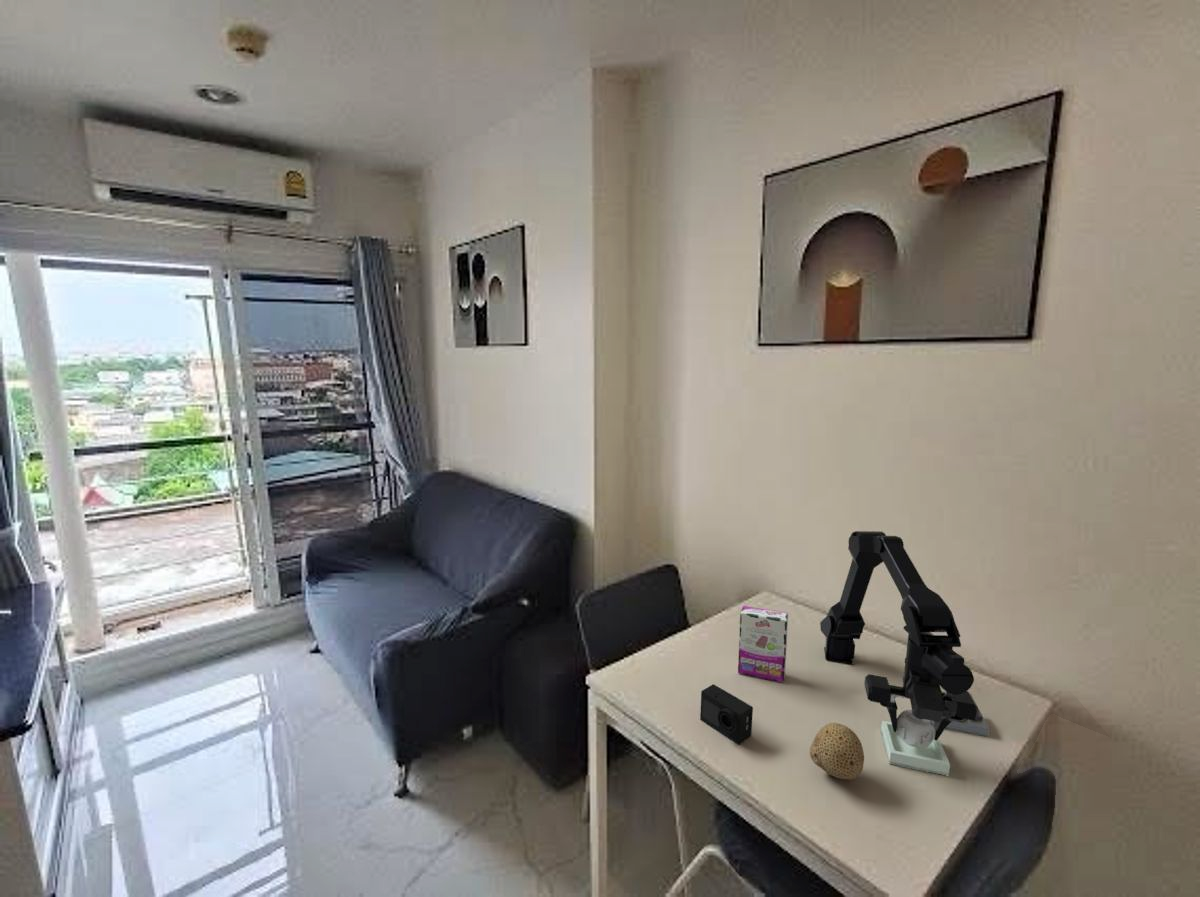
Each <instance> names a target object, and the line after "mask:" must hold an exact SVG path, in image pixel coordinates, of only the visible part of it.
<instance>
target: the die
mask: <svg viewBox="0 0 1200 897" xmlns="http://www.w3.org/2000/svg"><path fill="white" fill-rule="evenodd" d="M897 733H898V735H899V736H900V738H901V739H902V740H903V741H904V742H905V743H906V744H908V745H910V746H912V747H916V748H926V747H928V746H929V745H930V744H931V743H932V742H933V740H934V738H935V734H936V731H935V727H934V724H933V723H932V721H931V720H926V719H918V718H916V717H915V716H914V715H913V713H912V709H905V710H902V711H901V712H900V713H899V714H898V715H897Z"/></svg>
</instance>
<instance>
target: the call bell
mask: <svg viewBox="0 0 1200 897" xmlns="http://www.w3.org/2000/svg"><path fill="white" fill-rule="evenodd" d="M978 711H979V713H978V720H976V721H973V720H968V719H963V720H962V721H952V722H951V723H950V724H949V725H948V726H947V727H946V728H945V729H946V730H949V731H950V730H952V731H957V732H963V733H967V734H972V735H978V736H982V737H989V734H990V727H989V725H988V723H987V721H986V720H985V717H984V716H983V714H982V713H981V711H980V709H979V708H978ZM932 723H933V724H934V721H932Z"/></svg>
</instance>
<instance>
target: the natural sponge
mask: <svg viewBox="0 0 1200 897" xmlns="http://www.w3.org/2000/svg"><path fill="white" fill-rule="evenodd" d="M809 755H810V758H811V761H812V762H813V764H815V765H816V766H817V767H818V768H820V769H821V770H823V771H825V773H826V774H829V775H830V776H832V777H833V778H838V779H841V780H842V779H843V780H854V779H857V778H858V777H859V776H860V775H861V774H862V773H863V771H864V762H865V754H864V749H863V745H862V742H861V740H860V738H859V736H858V735H856V733H855V732H854V731H853V729H851V728H850V727H848V726H847V725H844V724H841V723H838V722H830V723H827V724H825V725H823V727H821V728H820V729H819V730H818V731H817V733H816V735H815V737H814V739H813V741H812V743H811V746H810V748H809Z"/></svg>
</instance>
